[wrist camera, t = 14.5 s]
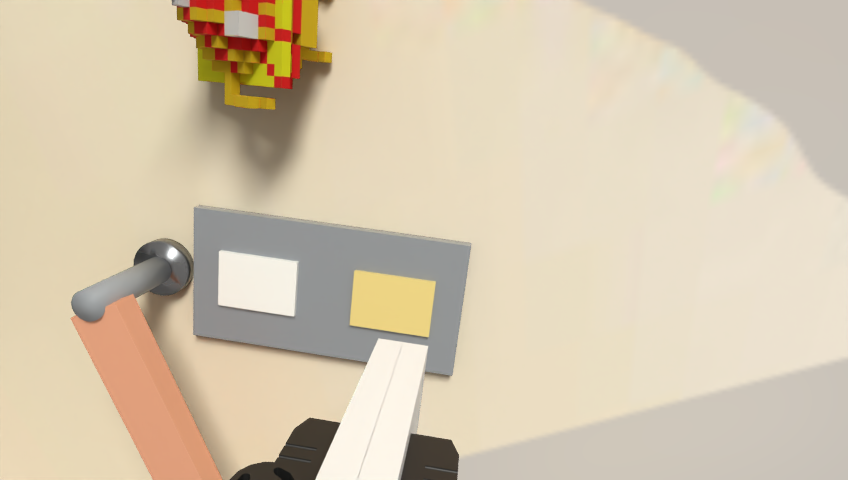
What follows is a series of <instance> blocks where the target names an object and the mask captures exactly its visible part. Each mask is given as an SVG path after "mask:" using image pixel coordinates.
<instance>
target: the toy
mask: <svg viewBox="0 0 848 480" xmlns="http://www.w3.org/2000/svg"><path fill="white" fill-rule="evenodd" d="M172 5H174V6H177V20H181V21H182V22H185V23H186V24H188V34H190V37H194V38H196V48H198V80H199V81H210V82H220V83H225V105H233V106H235V107H242V108H253V109H258V108H261V109H274V110H275V99H274V98H265V97H253V96H244V95H240V84H242V85H253V86H263V87H274V88H285V89H292V85H293V79H300V69H302V60H306V61H313V62H324V63H331V62H332V53H330V52H320V51H313V50H309V48H317V23H318V0H172Z"/></svg>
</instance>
